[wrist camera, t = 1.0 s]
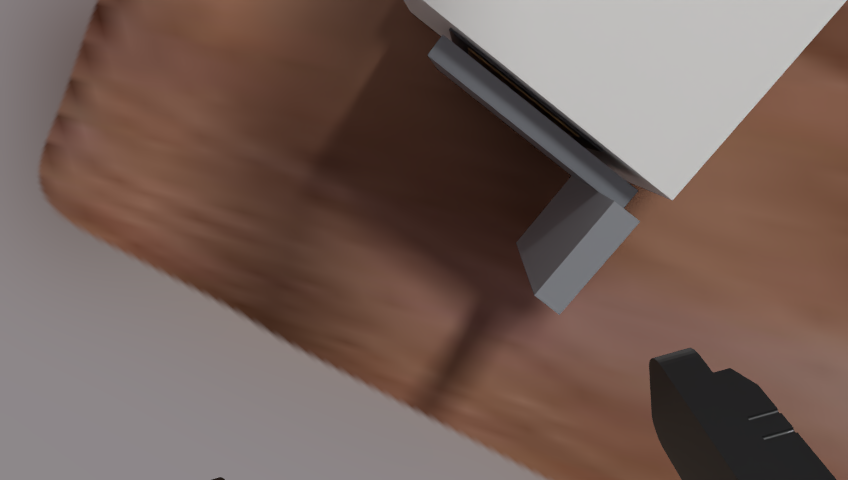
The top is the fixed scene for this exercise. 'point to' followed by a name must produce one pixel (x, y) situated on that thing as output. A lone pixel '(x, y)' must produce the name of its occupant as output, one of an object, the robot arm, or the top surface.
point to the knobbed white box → (636, 69)
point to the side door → (574, 203)
